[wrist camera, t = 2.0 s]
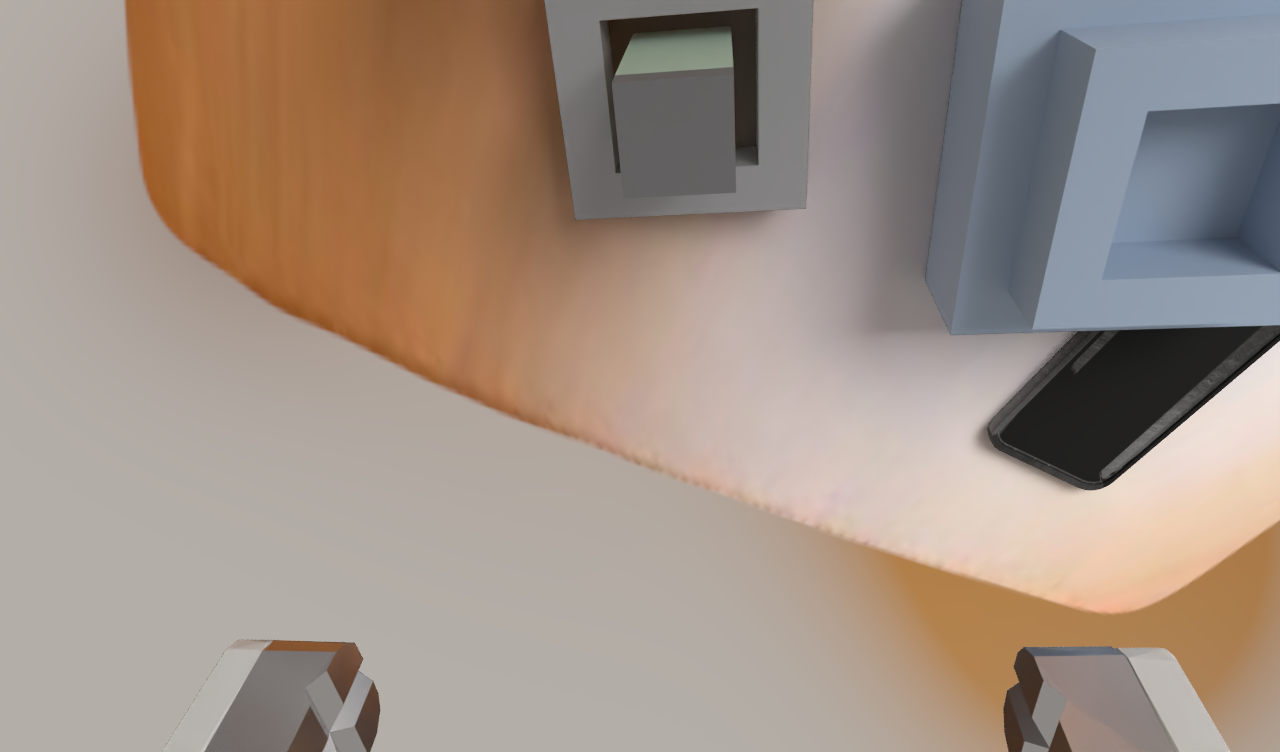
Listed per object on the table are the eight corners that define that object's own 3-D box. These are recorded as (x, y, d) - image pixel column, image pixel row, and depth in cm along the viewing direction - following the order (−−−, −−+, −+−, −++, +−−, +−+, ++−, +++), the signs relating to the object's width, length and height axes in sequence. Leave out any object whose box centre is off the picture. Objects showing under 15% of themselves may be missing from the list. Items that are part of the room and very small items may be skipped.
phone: (1347, 283, 35) (1096, 496, 43) (1331, 272, 36) (1088, 482, 44) (1213, 206, 33) (980, 441, 42) (1200, 195, 34) (974, 428, 43)
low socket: (551, -42, 31) (539, -34, 29) (808, -66, 30) (815, -58, 28) (583, 198, 36) (575, 219, 34) (801, 187, 35) (806, 208, 33)
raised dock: (968, -50, 30) (1040, -18, 23) (1376, -84, 28) (1579, -61, 21) (925, 280, 37) (969, 374, 31) (1240, 268, 36) (1359, 365, 29)
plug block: (633, 33, 32) (611, 82, 26) (731, 25, 32) (733, 74, 25) (641, 129, 34) (623, 198, 28) (732, 124, 34) (736, 192, 27)
